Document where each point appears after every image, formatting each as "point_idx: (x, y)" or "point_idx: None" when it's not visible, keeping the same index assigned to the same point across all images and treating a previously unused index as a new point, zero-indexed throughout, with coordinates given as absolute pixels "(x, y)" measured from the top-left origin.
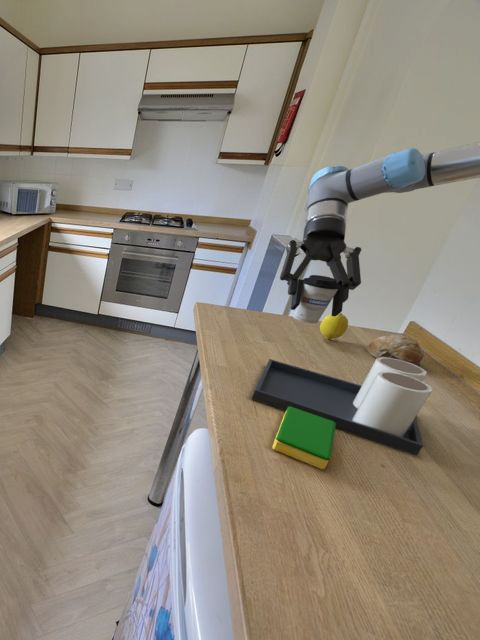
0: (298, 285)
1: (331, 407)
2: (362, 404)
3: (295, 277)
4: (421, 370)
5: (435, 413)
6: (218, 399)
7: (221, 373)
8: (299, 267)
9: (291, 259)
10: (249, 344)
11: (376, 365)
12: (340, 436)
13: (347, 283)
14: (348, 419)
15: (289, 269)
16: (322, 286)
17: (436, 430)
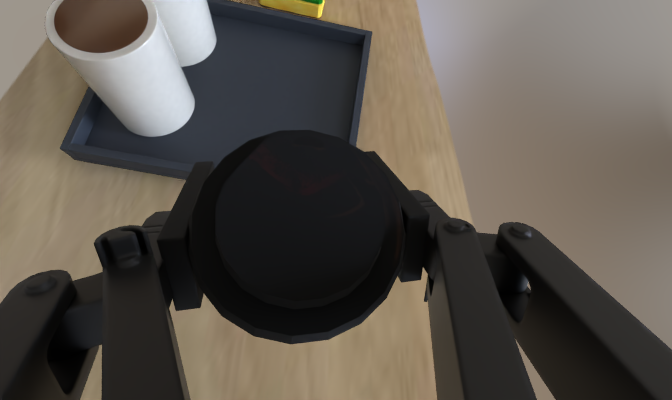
0: (408, 194)
1: (240, 71)
2: (208, 7)
3: (453, 221)
4: (58, 10)
5: (12, 175)
6: (413, 21)
7: (424, 117)
8: (488, 279)
9: (616, 330)
10: (387, 357)
11: (160, 22)
12: (245, 2)
13: (138, 228)
14: (222, 43)
15: (530, 253)
16: (306, 131)
17: (59, 97)
